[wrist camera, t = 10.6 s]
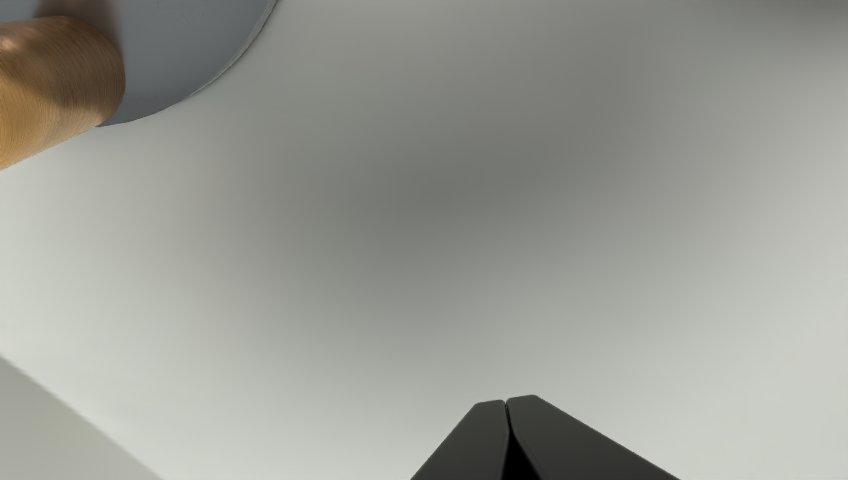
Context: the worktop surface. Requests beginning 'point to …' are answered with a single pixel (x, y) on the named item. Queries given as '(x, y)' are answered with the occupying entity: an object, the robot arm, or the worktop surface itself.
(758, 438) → the worktop surface
